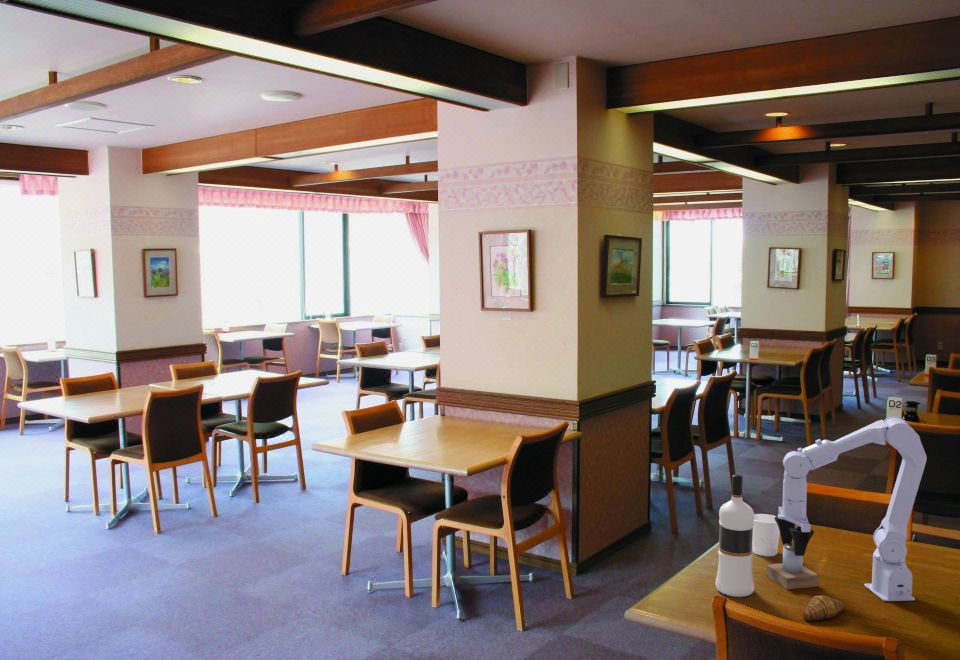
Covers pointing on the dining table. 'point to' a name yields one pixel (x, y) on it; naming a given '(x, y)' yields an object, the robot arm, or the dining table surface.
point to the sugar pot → (791, 559)
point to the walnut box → (792, 577)
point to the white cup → (765, 535)
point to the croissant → (822, 608)
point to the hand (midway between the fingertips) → (793, 549)
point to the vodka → (735, 544)
